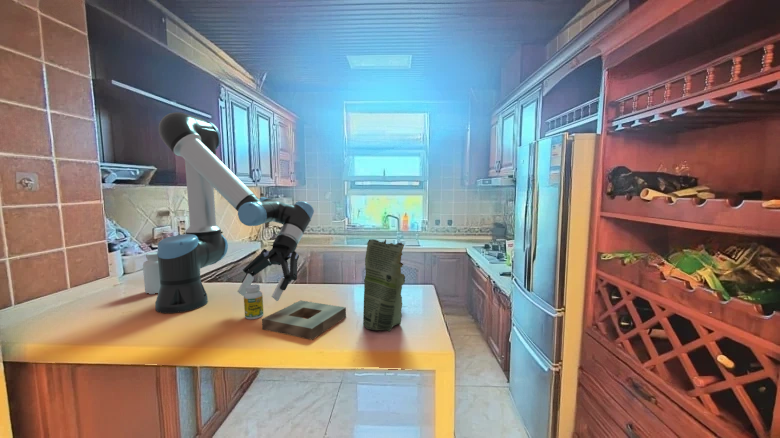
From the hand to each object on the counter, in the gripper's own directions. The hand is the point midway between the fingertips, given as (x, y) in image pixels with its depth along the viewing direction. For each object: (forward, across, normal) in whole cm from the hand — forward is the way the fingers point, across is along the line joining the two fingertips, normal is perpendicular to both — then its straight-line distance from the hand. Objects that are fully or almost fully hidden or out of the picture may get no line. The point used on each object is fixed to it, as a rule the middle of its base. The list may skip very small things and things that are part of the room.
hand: (257, 296), depth 106 cm
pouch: (-1, -39, -10) cm, 40 cm away
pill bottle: (+1, +55, -8) cm, 56 cm away
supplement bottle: (+5, +1, -4) cm, 7 cm away
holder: (+4, -17, -5) cm, 18 cm away
